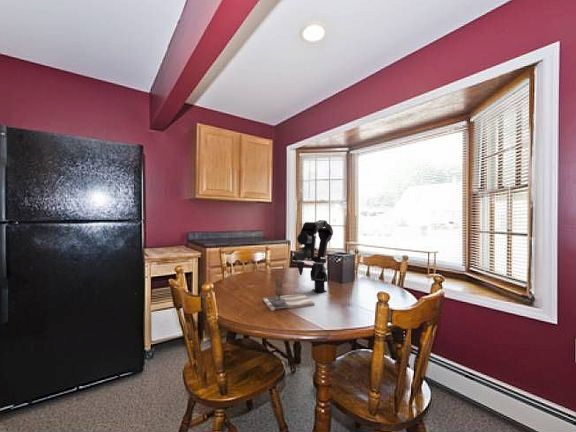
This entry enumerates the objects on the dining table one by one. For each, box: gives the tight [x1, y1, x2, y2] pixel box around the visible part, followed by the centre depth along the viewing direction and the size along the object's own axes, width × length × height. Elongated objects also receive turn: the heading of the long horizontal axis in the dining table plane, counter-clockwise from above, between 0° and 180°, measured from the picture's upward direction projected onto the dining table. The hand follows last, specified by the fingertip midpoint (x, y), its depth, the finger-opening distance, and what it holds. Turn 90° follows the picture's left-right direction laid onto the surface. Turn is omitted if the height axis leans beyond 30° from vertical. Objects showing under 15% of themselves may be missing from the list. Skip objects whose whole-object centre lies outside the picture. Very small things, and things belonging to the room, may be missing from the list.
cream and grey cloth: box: [262, 293, 315, 312], centre depth 142 cm, size 16×22×1 cm
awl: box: [273, 276, 285, 306], centre depth 136 cm, size 6×6×12 cm
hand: (307, 276), depth 145 cm, fingers open, 9 cm apart
